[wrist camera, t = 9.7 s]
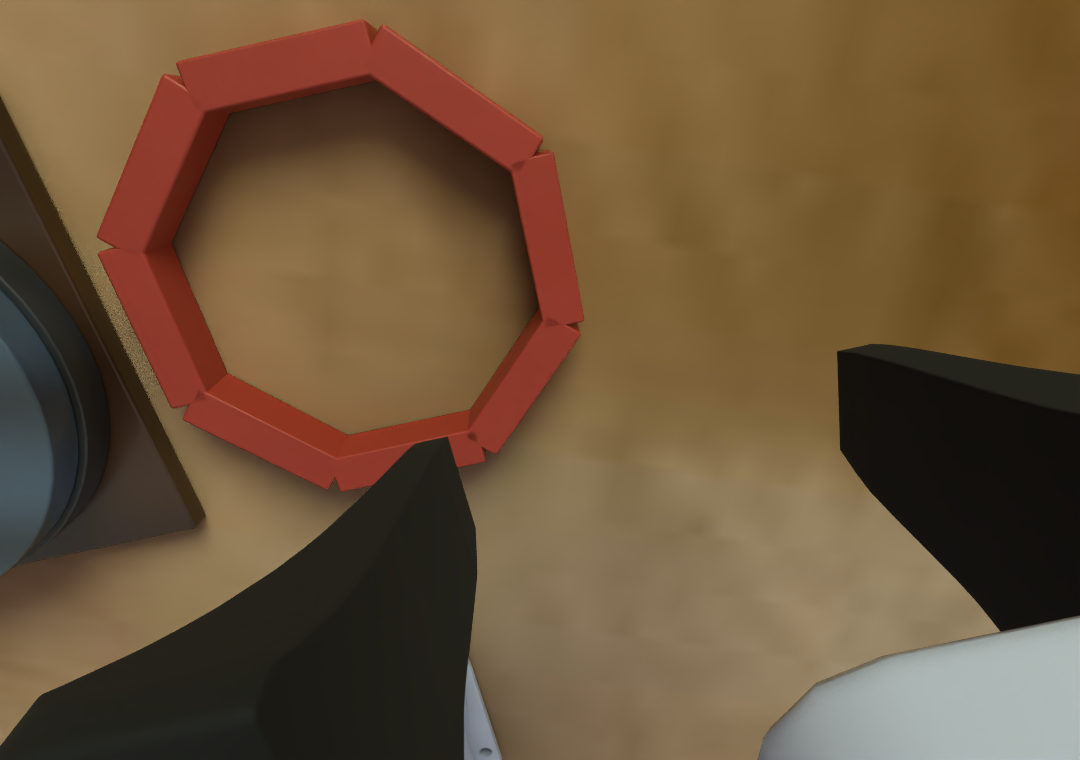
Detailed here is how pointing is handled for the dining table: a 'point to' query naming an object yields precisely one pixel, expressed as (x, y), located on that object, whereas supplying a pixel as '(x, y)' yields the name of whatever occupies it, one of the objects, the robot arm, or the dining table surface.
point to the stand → (69, 396)
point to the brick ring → (172, 311)
